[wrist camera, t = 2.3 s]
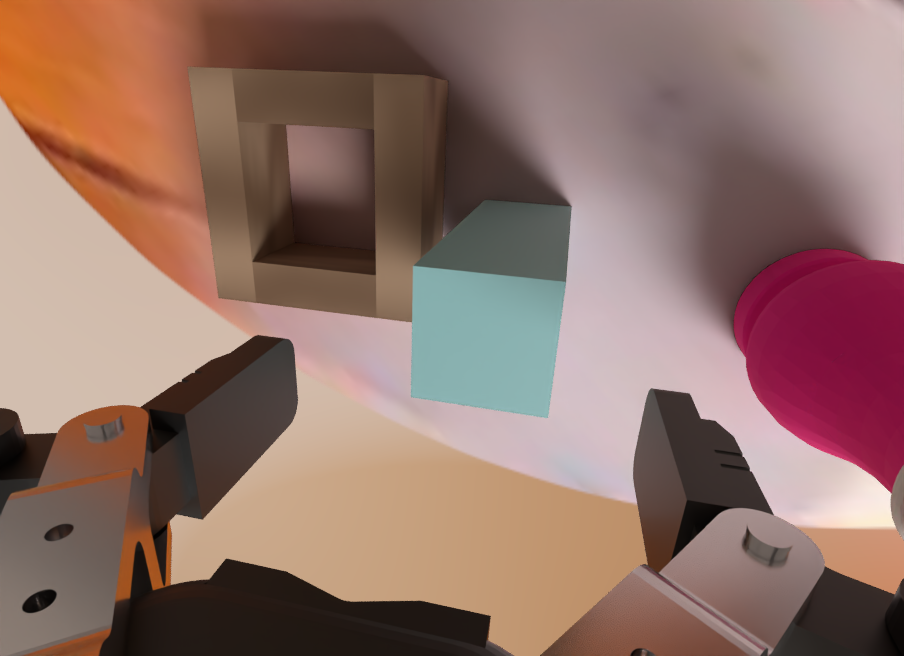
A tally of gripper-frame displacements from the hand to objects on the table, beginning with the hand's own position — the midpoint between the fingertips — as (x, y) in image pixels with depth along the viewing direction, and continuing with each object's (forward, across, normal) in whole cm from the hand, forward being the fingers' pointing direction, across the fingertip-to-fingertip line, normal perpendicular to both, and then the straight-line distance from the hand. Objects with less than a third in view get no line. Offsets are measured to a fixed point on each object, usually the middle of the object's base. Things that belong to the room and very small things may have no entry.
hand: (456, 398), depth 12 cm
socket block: (+15, +9, -2) cm, 18 cm away
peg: (+15, 0, 0) cm, 15 cm away
